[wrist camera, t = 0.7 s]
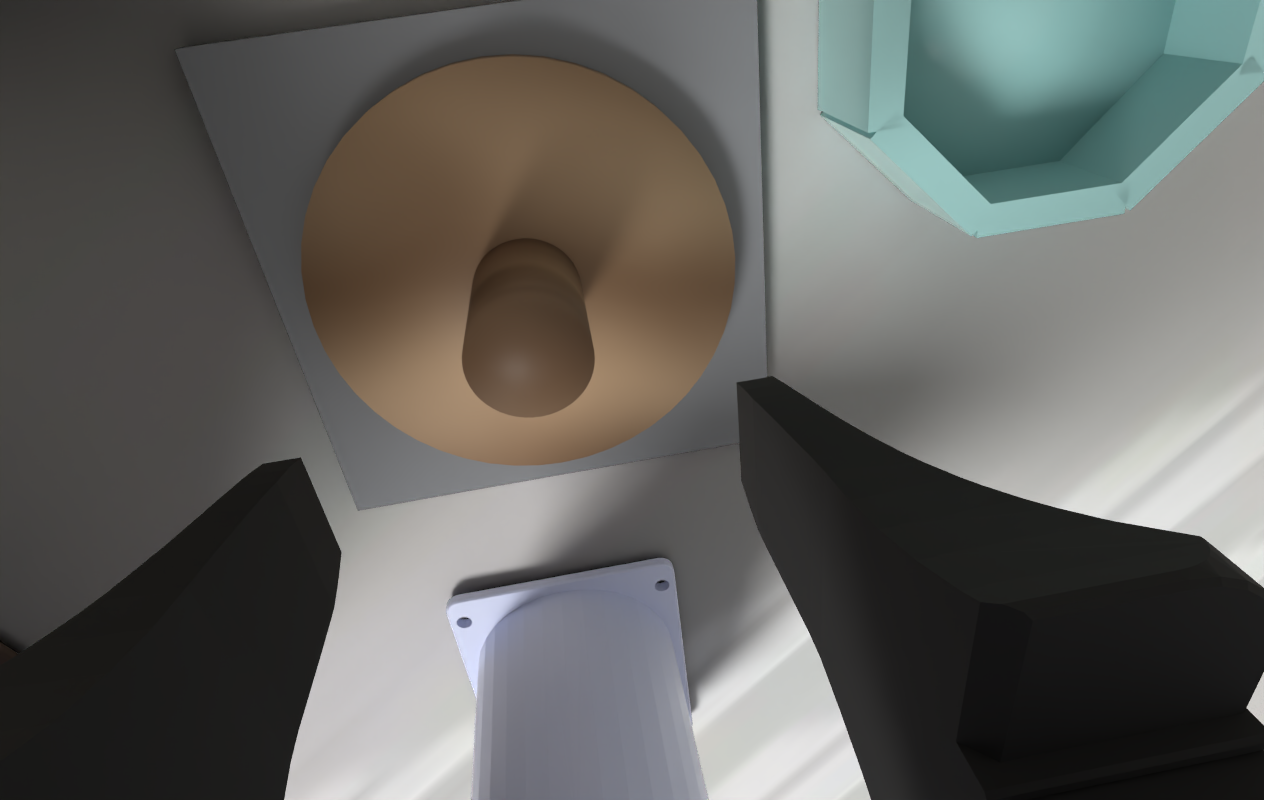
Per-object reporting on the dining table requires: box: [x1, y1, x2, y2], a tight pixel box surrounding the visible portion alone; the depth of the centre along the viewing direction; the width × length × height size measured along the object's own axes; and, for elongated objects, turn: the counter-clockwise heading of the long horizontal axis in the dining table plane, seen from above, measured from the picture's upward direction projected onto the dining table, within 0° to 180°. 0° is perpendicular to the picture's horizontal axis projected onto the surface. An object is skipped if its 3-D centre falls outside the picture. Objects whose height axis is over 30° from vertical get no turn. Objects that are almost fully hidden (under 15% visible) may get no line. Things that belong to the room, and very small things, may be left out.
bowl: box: [818, 0, 1264, 238], centre depth 17 cm, size 10×10×3 cm
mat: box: [175, 0, 767, 511], centre depth 20 cm, size 13×13×1 cm
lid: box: [301, 54, 735, 466], centre depth 18 cm, size 11×11×5 cm
